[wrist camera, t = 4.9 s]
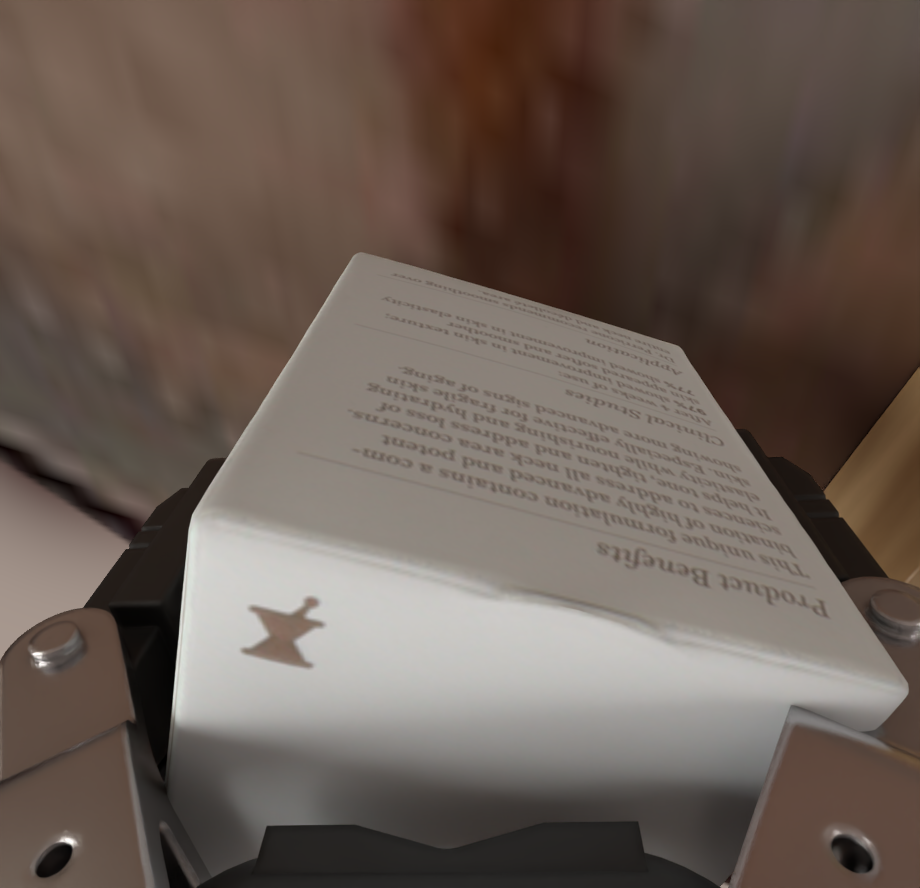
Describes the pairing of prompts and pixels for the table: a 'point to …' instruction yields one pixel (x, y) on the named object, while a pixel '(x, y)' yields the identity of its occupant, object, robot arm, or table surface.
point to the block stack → (886, 487)
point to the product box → (497, 590)
